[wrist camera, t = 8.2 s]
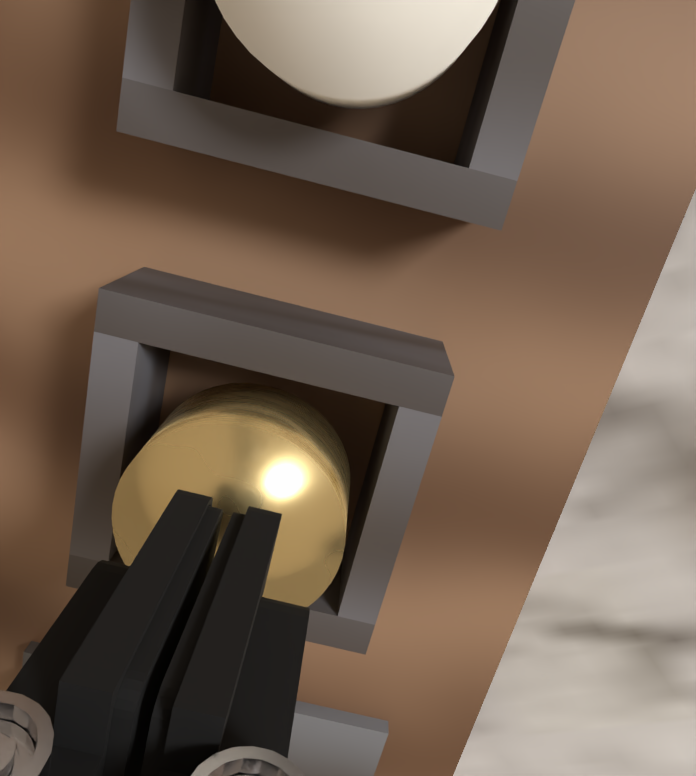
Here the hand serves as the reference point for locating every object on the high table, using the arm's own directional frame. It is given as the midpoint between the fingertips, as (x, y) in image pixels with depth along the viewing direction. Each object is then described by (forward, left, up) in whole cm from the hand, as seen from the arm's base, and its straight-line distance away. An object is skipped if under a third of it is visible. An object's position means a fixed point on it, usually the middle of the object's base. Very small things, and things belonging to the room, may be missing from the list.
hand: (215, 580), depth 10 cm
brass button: (0, 0, -3) cm, 3 cm away
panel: (0, 0, -7) cm, 7 cm away
